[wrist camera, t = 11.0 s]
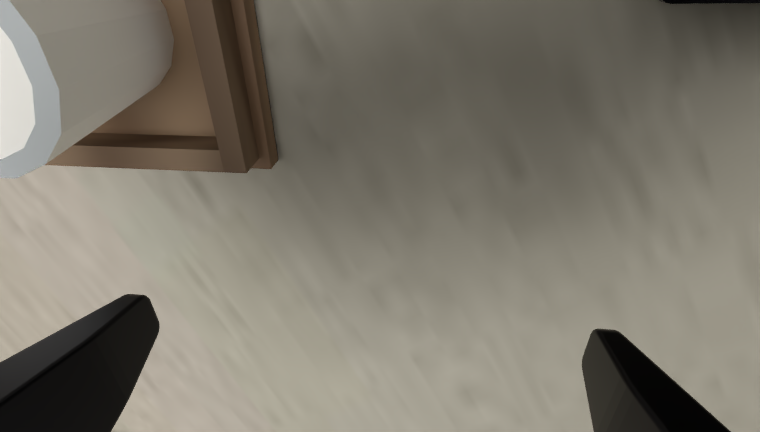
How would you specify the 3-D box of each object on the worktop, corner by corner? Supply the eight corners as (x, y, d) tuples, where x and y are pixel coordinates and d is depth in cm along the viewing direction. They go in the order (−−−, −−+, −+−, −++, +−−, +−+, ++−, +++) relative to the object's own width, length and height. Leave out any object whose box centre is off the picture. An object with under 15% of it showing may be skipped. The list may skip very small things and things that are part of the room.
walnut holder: (226, -173, 14) (189, -195, 12) (278, 159, 20) (259, 184, 18) (-89, -156, 15) (-173, -173, 13) (51, 151, 22) (10, 172, 20)
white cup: (194, 123, 19) (82, 202, 13) (44, 91, 19) (-136, 155, 13) (181, -59, 15) (16, -65, 9) (-6, -97, 15) (-289, -128, 9)
